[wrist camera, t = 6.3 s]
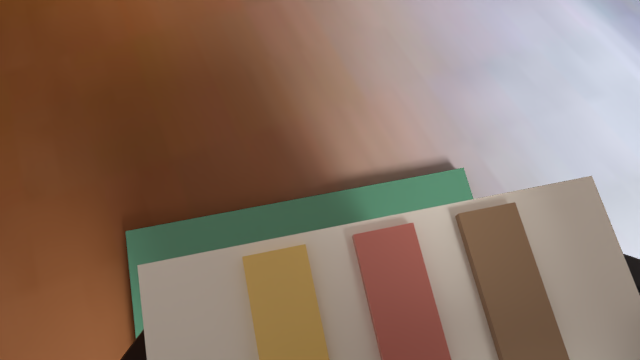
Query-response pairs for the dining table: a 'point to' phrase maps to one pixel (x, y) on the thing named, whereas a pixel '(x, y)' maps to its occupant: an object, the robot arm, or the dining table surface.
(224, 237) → the header board
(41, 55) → the dining table surface
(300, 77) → the dining table surface
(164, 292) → the plug block
